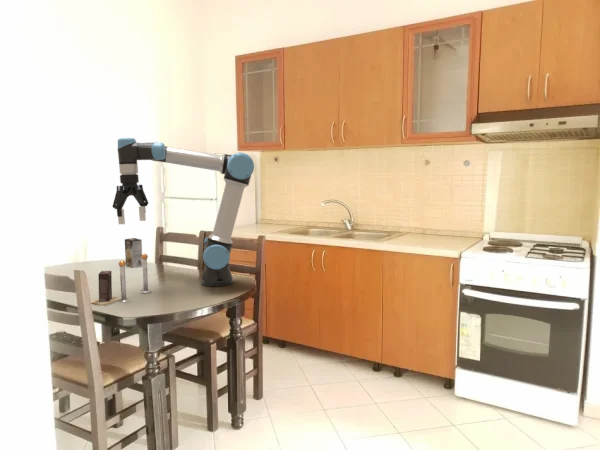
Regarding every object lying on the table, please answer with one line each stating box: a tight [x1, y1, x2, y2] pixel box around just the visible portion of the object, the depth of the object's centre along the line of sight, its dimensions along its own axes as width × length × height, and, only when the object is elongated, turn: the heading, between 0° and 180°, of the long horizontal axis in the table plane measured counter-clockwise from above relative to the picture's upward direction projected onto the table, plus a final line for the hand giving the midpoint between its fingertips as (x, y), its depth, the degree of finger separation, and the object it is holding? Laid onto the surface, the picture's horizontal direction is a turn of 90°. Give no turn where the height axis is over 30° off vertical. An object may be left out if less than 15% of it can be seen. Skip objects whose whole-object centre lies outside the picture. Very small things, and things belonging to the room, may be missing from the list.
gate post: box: [139, 253, 153, 294], centre depth 199 cm, size 5×5×18 cm
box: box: [98, 270, 113, 302], centre depth 184 cm, size 6×4×12 cm
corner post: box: [117, 260, 131, 303], centre depth 186 cm, size 5×5×18 cm
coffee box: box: [124, 237, 143, 269], centre depth 257 cm, size 9×6×16 cm
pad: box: [90, 296, 121, 307], centre depth 185 cm, size 9×10×1 cm
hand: (132, 222), depth 193 cm, fingers open, 13 cm apart
